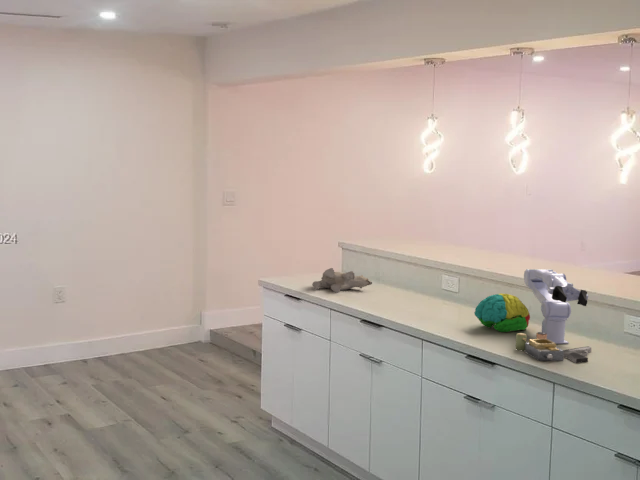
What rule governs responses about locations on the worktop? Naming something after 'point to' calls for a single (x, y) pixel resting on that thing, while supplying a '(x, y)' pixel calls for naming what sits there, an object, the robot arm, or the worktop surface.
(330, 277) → the animal model
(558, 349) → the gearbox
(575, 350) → the handgun
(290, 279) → the worktop surface
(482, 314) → the brain model
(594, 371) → the worktop surface
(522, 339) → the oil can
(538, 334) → the copper can
